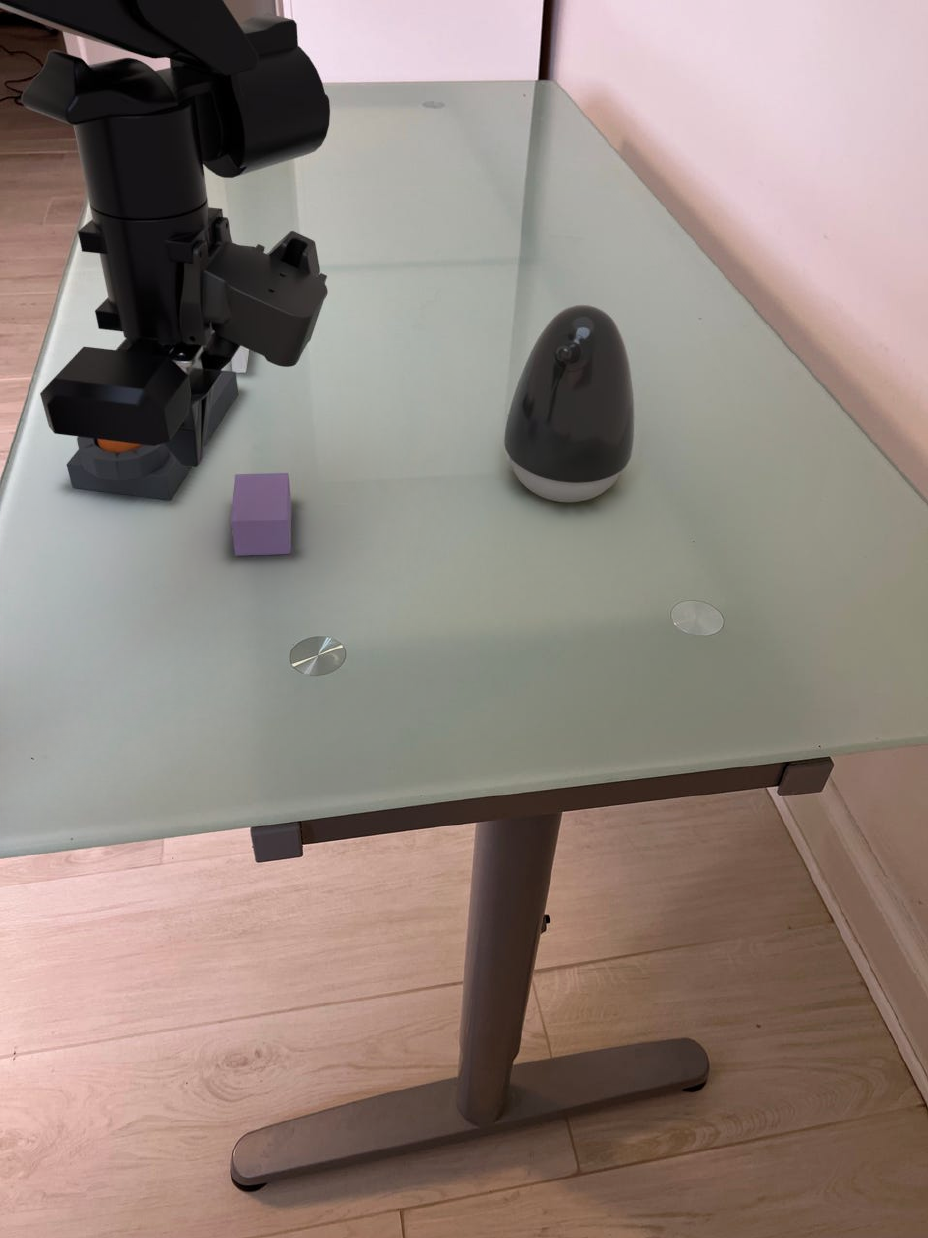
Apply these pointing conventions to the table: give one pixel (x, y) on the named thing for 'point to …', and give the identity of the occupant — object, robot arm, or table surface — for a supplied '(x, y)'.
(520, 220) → the table surface
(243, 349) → the eraser
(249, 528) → the soap bar
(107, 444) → the orange push button
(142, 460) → the button base
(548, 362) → the dark grey egg dome
